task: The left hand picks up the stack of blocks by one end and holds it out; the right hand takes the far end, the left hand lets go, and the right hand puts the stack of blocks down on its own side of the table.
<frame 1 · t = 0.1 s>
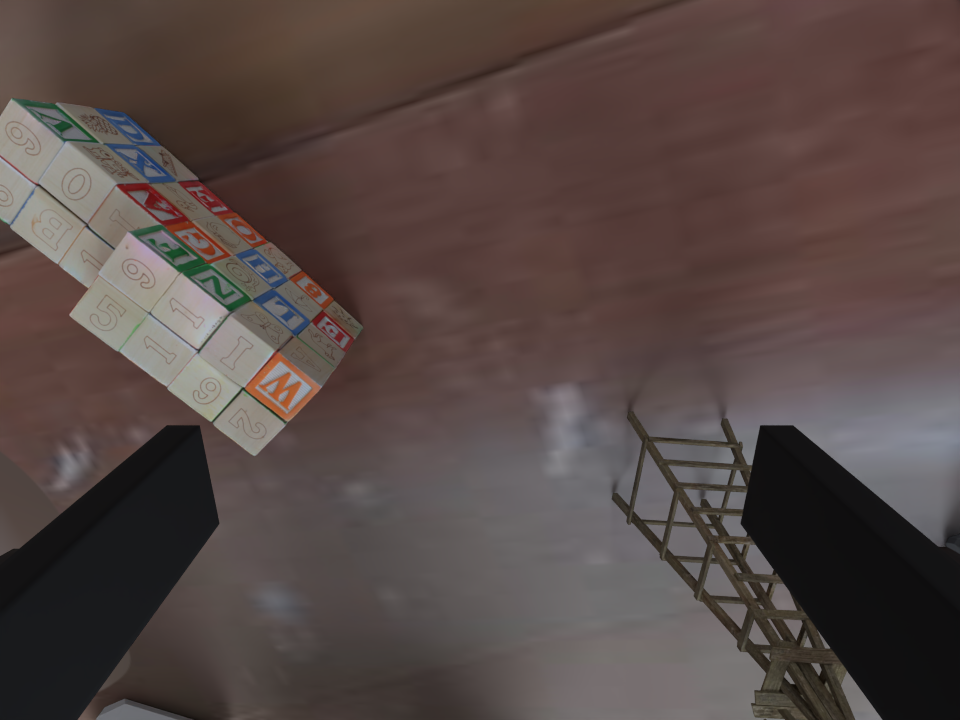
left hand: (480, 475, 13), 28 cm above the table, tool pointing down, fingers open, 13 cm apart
stack of blocks: (228, 257, 39), on the table
miniature windmill: (666, 457, 45), on the table
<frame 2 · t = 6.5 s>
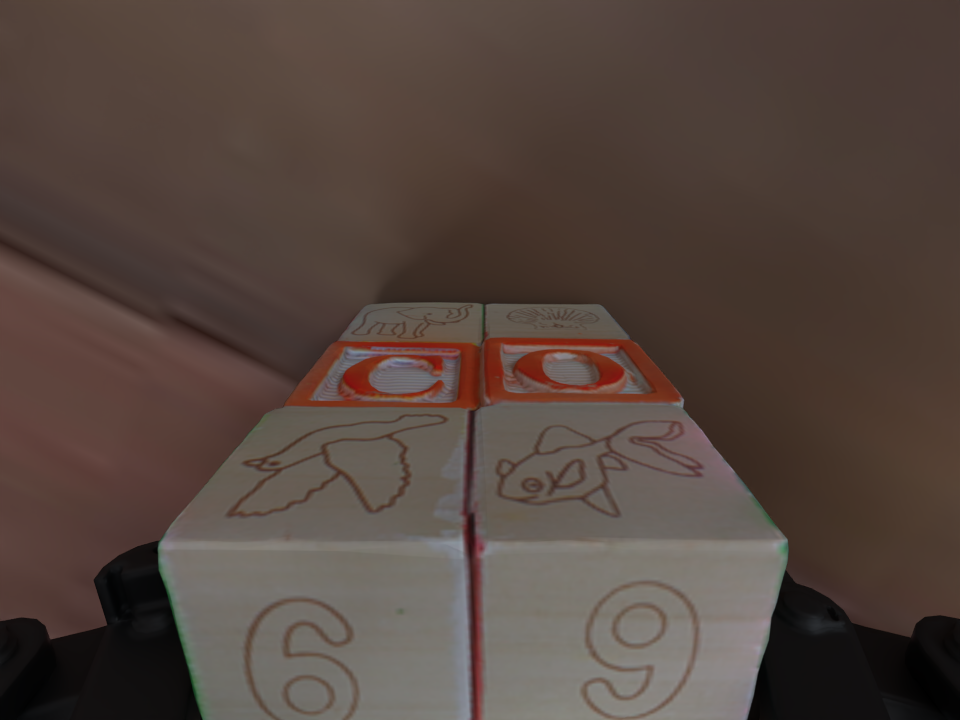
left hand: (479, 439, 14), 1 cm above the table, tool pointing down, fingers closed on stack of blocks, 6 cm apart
stack of blocks: (479, 620, 17), on the table, touching left hand
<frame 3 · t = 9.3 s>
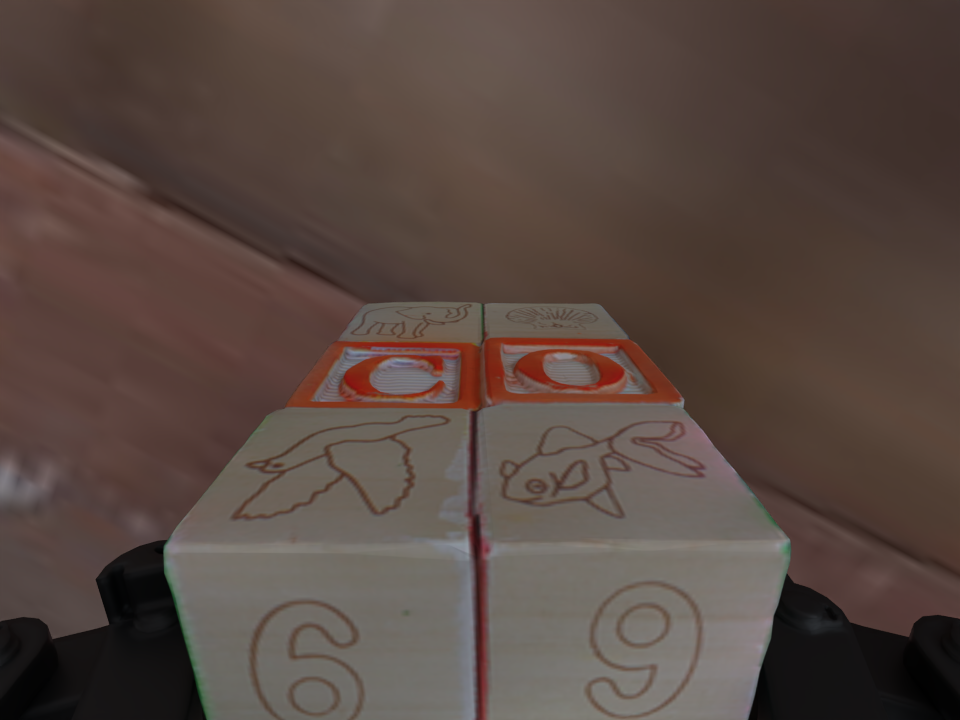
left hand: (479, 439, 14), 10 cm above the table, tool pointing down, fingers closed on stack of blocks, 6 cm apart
stack of blocks: (477, 618, 17), point 9 cm above the table, touching left hand
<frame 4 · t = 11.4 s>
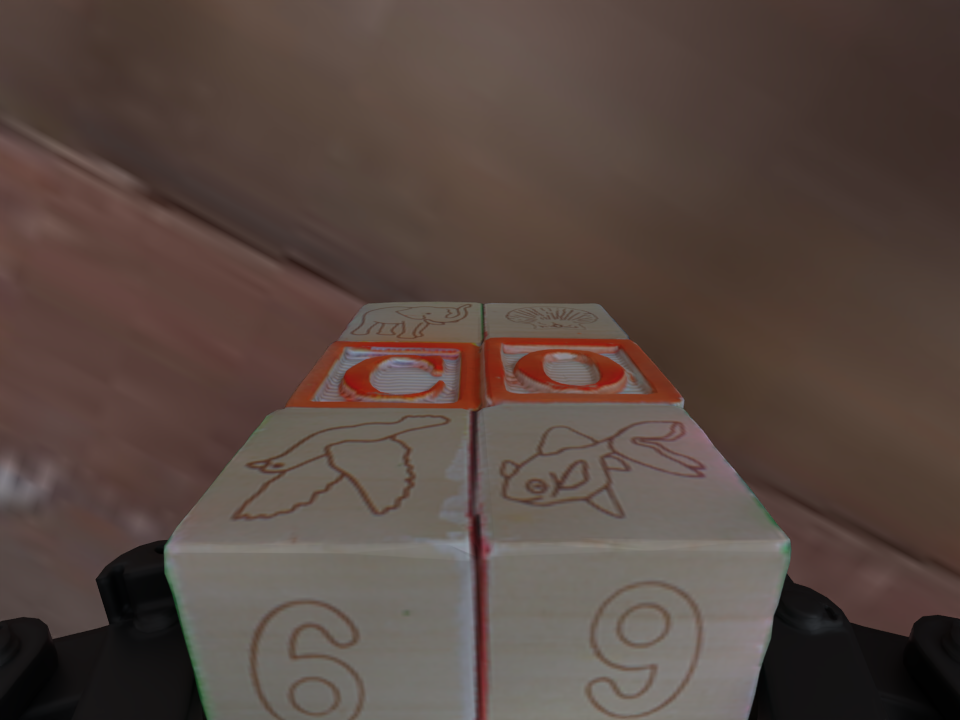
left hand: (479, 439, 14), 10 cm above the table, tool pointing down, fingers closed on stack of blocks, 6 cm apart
stack of blocks: (477, 618, 17), point 9 cm above the table, touching left hand, right hand
when the left hand's fingers open (10 cm above the table, at t = 12.1 s): stack of blocks stays where it is, held by the right hand.
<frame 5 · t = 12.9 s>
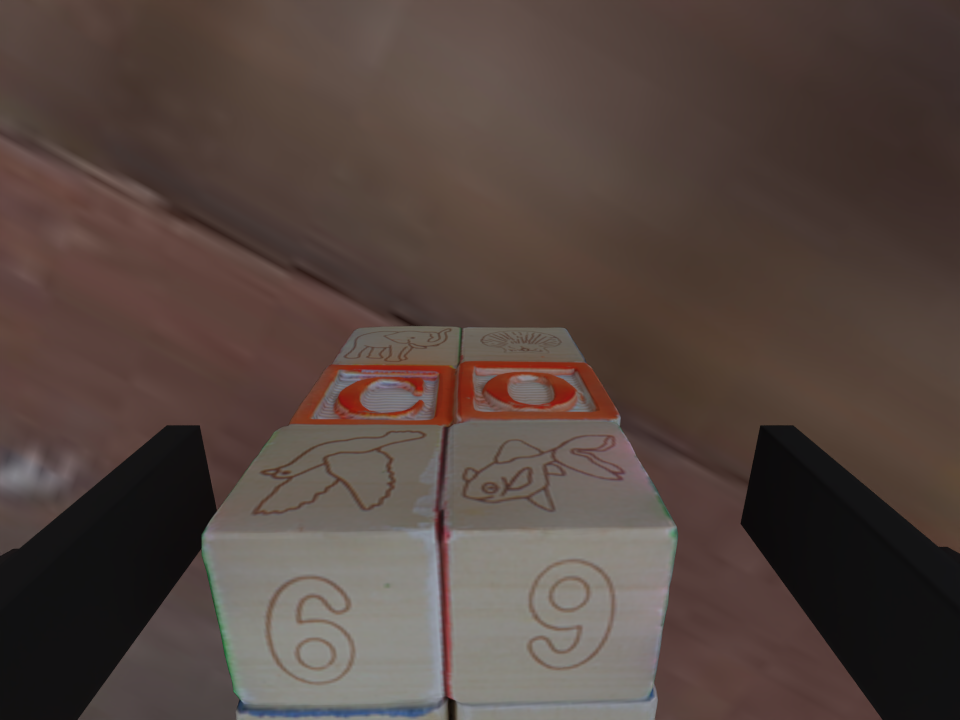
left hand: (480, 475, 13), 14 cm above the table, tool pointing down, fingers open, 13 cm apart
stack of blocks: (460, 613, 19), point 10 cm above the table, touching right hand
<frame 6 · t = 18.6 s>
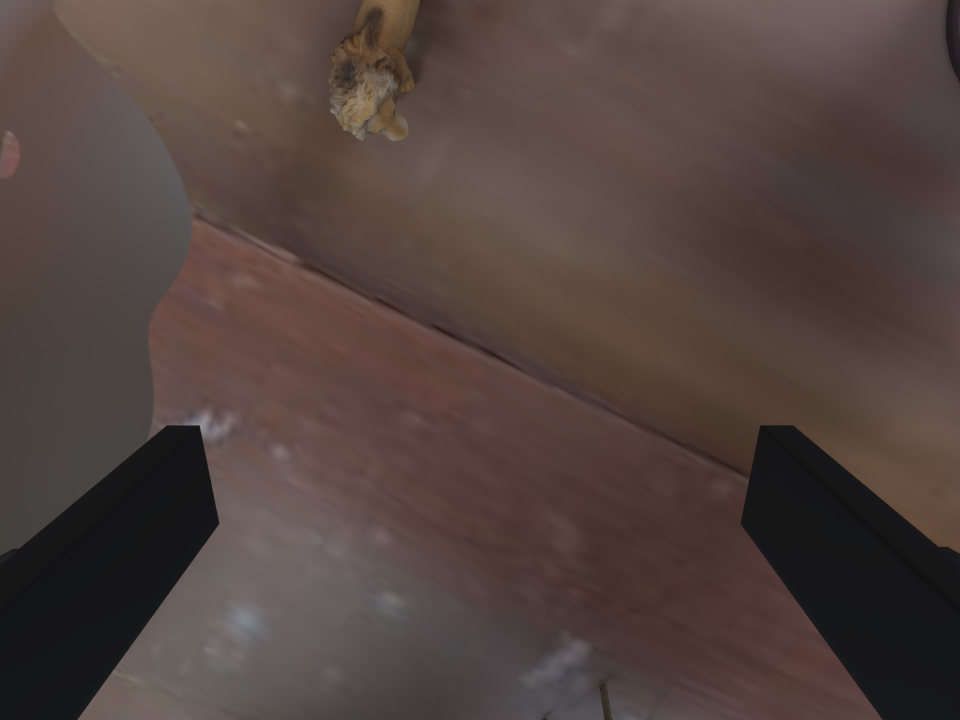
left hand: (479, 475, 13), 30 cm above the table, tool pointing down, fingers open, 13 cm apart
miniature windmill: (594, 719, 57), on the table
lion figurine: (409, 39, 35), on the table
when the right hand's fingers open (4 cm above the table, at t = 25.8 s): stack of blocks drops 1 cm, on the table.
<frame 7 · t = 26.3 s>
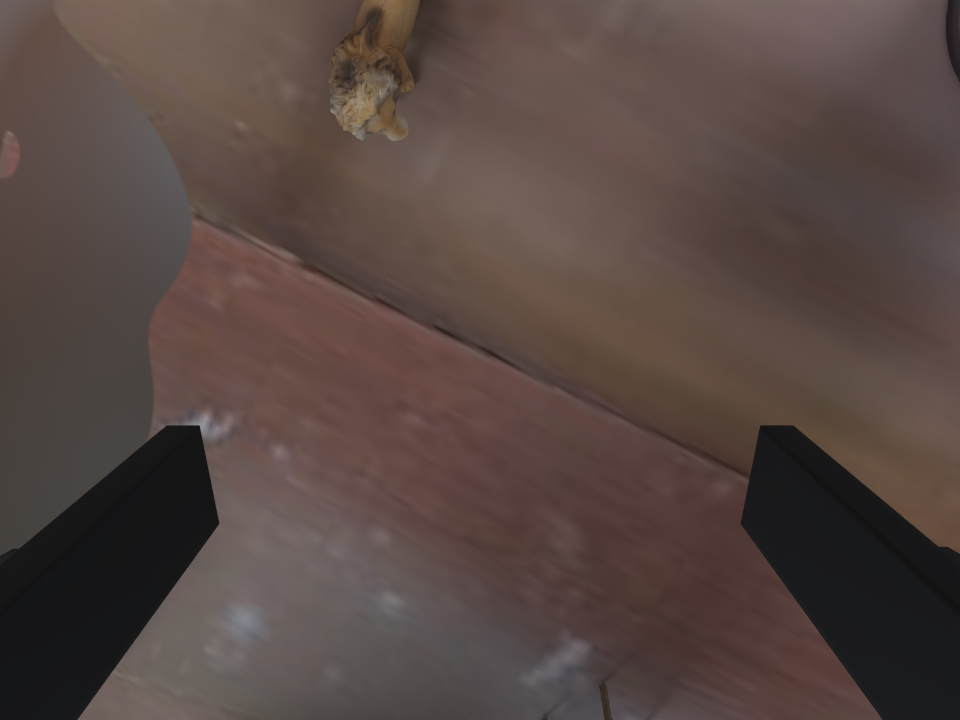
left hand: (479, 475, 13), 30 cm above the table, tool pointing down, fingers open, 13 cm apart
miniature windmill: (594, 719, 57), on the table
lion figurine: (409, 39, 35), on the table
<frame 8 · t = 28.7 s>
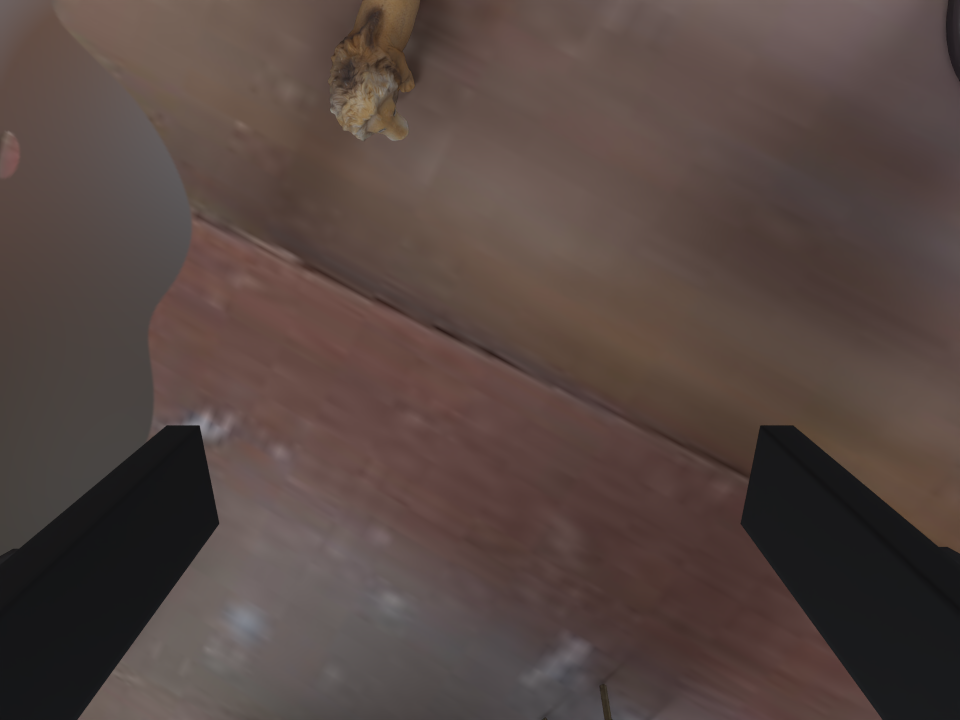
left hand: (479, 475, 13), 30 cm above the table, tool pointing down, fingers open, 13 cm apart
miniature windmill: (594, 719, 57), on the table
lion figurine: (409, 39, 35), on the table
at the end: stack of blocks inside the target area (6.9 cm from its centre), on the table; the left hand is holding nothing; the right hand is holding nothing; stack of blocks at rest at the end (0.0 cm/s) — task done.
